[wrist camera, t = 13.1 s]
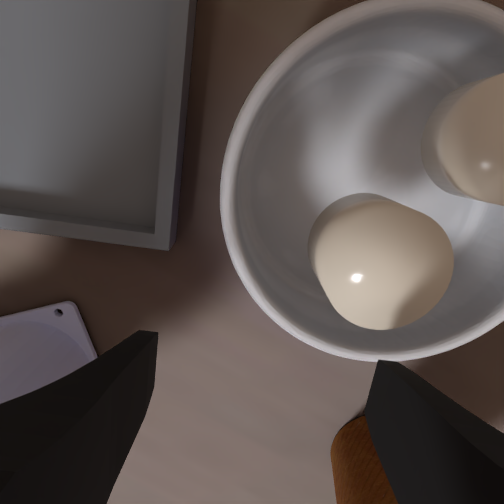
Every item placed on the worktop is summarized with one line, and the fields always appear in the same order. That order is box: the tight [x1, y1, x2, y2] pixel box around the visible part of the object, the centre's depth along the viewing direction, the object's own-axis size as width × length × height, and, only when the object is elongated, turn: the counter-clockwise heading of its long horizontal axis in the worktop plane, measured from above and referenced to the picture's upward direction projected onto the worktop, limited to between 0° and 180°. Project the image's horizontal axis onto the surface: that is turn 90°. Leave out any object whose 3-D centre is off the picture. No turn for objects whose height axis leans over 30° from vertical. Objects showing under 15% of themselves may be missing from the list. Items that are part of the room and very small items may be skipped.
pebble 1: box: [308, 193, 454, 330], centre depth 14 cm, size 4×4×3 cm
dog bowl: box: [220, 0, 504, 362], centre depth 18 cm, size 15×15×6 cm
